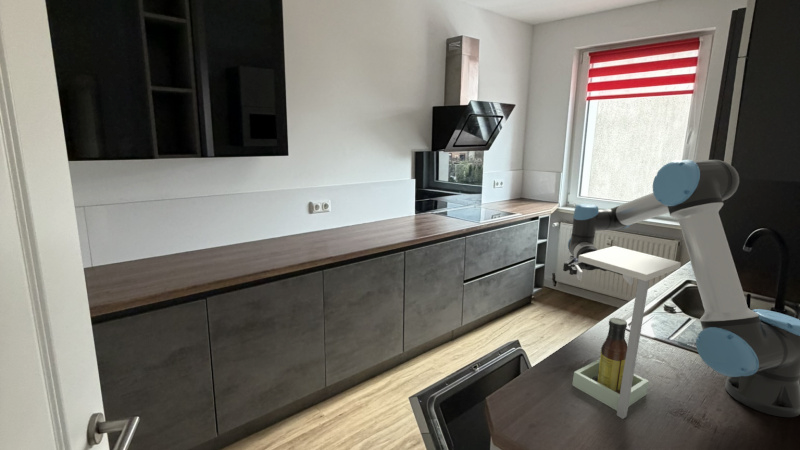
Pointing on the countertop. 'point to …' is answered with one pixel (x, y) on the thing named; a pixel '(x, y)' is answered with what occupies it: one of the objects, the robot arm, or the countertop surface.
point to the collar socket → (603, 393)
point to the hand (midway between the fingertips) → (606, 278)
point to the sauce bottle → (613, 356)
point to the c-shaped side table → (643, 270)
